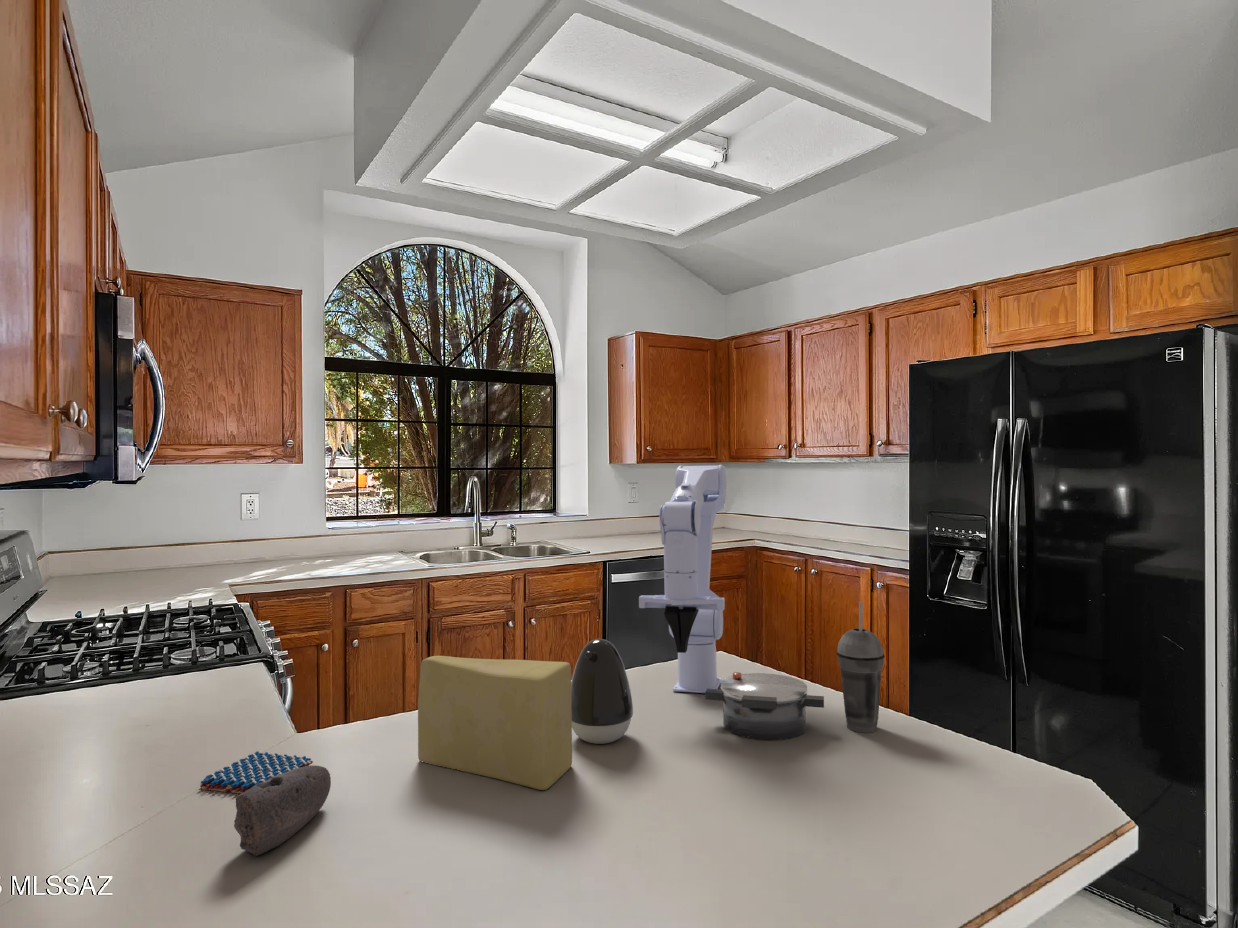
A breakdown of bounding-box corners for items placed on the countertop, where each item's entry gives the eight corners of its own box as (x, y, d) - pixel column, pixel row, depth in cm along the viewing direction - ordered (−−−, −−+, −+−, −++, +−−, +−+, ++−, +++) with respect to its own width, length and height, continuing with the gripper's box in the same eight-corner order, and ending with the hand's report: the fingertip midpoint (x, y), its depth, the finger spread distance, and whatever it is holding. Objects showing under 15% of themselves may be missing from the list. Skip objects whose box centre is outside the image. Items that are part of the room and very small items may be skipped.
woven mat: (317, 769, 102) (317, 754, 102) (262, 802, 91) (262, 786, 91) (256, 762, 104) (256, 748, 104) (195, 793, 94) (195, 778, 94)
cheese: (399, 773, 99) (398, 663, 99) (439, 748, 108) (438, 647, 108) (545, 794, 91) (543, 676, 91) (575, 765, 100) (573, 658, 101)
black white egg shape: (557, 747, 107) (555, 645, 108) (580, 724, 117) (579, 630, 117) (622, 753, 104) (620, 648, 105) (641, 729, 114) (639, 633, 115)
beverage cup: (879, 720, 117) (876, 597, 117) (892, 736, 110) (889, 604, 110) (833, 719, 117) (831, 597, 118) (843, 735, 110) (840, 604, 111)
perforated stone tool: (311, 801, 90) (311, 746, 90) (348, 806, 89) (347, 749, 89) (216, 864, 76) (216, 797, 76) (257, 870, 74) (257, 802, 74)
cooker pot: (712, 708, 124) (712, 676, 124) (824, 716, 119) (823, 683, 119) (700, 734, 111) (699, 698, 112) (824, 744, 106) (823, 707, 107)
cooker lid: (726, 677, 123) (726, 666, 123) (808, 682, 120) (807, 670, 120) (713, 705, 109) (713, 692, 109) (806, 711, 105) (805, 698, 105)
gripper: (634, 573, 121) (635, 654, 120) (720, 575, 117) (721, 659, 117) (643, 568, 128) (644, 645, 127) (725, 570, 124) (727, 649, 123)
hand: (682, 651), depth 122 cm, fingers closed
